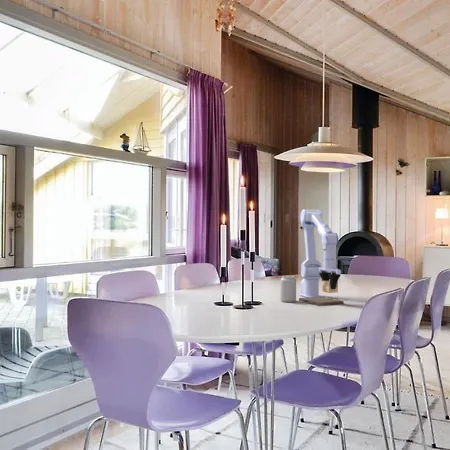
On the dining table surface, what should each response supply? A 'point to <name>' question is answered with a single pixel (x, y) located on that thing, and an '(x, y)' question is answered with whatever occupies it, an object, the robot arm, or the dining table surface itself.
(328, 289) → the oak block
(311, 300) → the serving board
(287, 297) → the can
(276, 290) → the dining table surface
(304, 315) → the dining table surface
